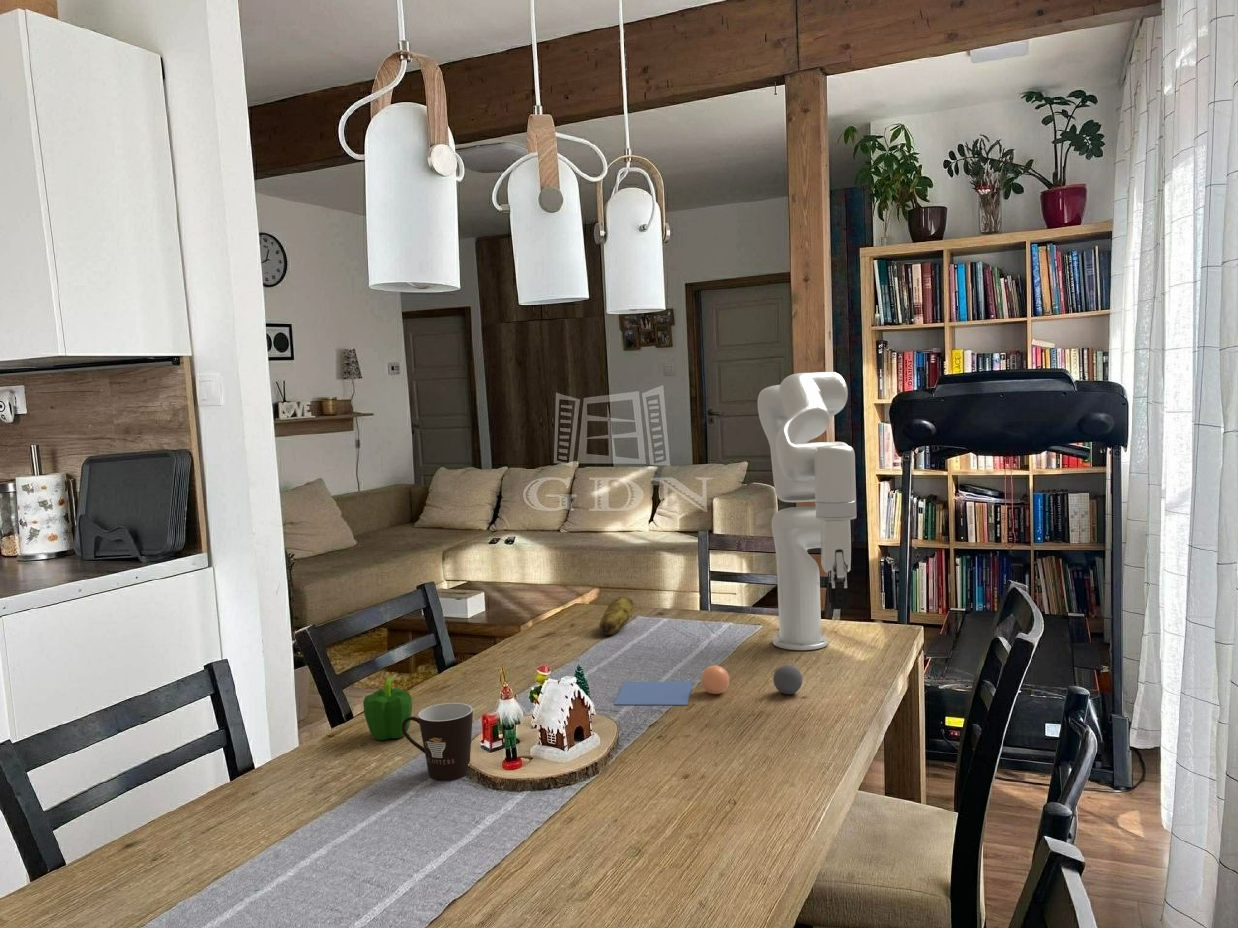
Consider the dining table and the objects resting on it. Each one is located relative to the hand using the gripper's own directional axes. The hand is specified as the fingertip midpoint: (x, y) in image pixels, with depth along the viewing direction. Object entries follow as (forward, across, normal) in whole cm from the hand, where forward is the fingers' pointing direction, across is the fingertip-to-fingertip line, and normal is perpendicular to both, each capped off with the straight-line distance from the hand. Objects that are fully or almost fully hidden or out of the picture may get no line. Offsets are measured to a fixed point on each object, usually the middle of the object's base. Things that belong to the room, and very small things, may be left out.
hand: (838, 604), depth 178 cm
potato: (+18, -49, -51) cm, 73 cm away
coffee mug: (+18, +39, -66) cm, 79 cm away
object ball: (+15, 0, -24) cm, 28 cm away
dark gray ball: (+15, 0, -10) cm, 18 cm away
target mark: (+17, 0, -36) cm, 40 cm away
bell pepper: (+18, +24, -81) cm, 86 cm away
